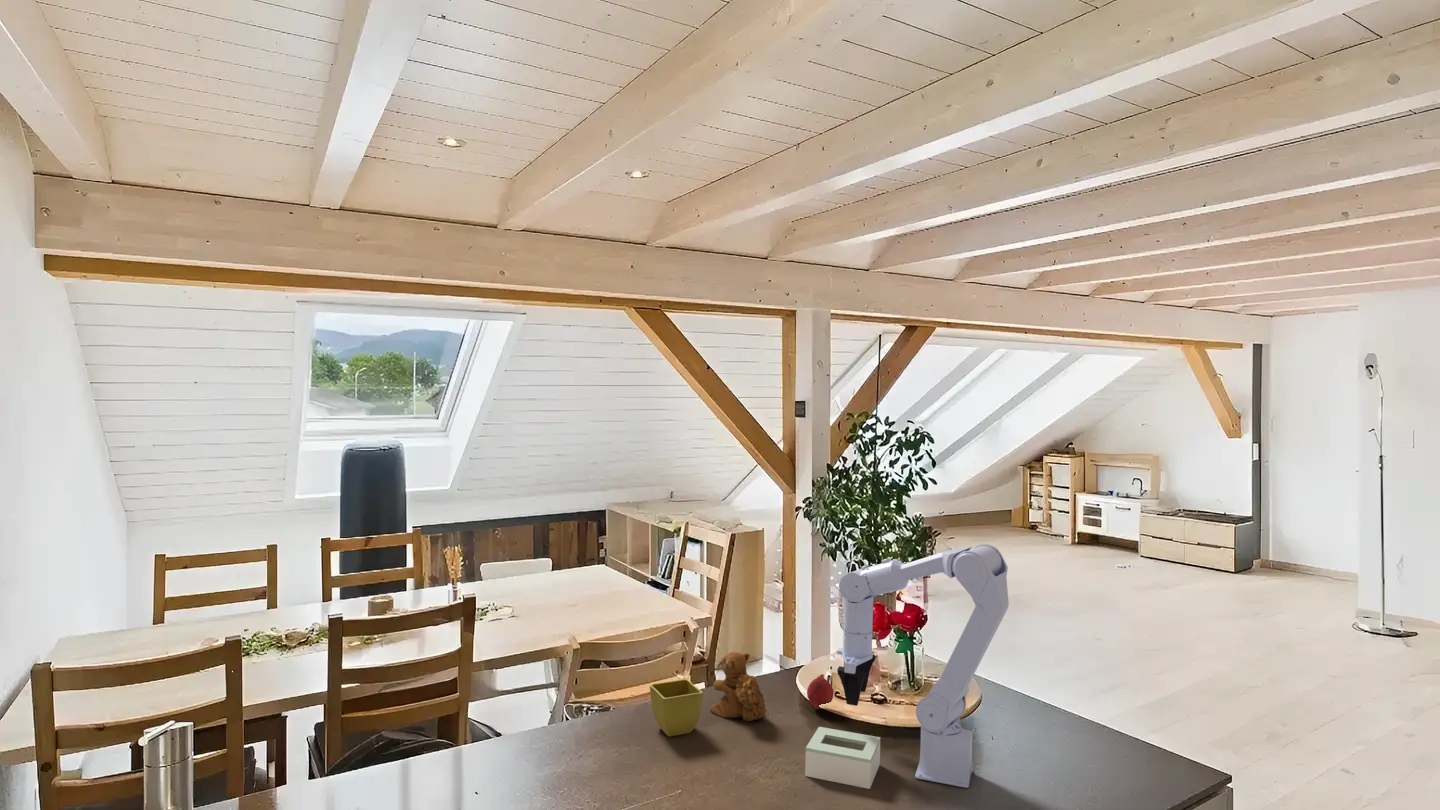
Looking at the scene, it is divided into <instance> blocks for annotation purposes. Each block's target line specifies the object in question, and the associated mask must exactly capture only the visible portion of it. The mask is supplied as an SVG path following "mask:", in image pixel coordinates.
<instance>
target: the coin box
mask: <svg viewBox="0 0 1440 810" xmlns="http://www.w3.org/2000/svg"><path fill="white" fill-rule="evenodd" d="M880 759H881V737H880V736H874V735H869V734H862V733H857V732H851V731H846V730H840V729H835V728H834V729H833V728H829V727H825V726H824V727H823V726H818V728H817V729H816V730H815V732H814V734H813V735H812V737H811V739H810V740H809V742H808V744H807V745H806V747H805V759H804V760H805V764H804V765H805V766H804V768H805V770H804V772H805V773H804V776H805V777H808V778H812V779H813V778H814V779H818V780H822V781H829V782H833V783H838V784H844V785H849V786H853V787H857V788H864V789H868V790H870V789H871V787H872V785H873V783H874V780H875V777H876V774H877V773H878V770H879V768H880V766H881V765H880V764H881V760H880Z"/></svg>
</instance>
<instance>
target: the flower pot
mask: <svg viewBox="0 0 1440 810" xmlns="http://www.w3.org/2000/svg"><path fill="white" fill-rule="evenodd" d="M649 692H650V693H649V694H650V702H651V709H652V713H653V716H654V718H655V720H656V721H655V722H656V723H657V725H658V726H659V728H660V729H661V730H662V732H663V733H665V735H666V736H667V737H675V736H680V735H685V734H690V733H692V732H693V730H694V729H695V728H696V725H697V723H698V722H699V719H700V715H701V707H702V701H703V692H704V691H702V690H701V689H700V688H698V686H696V685H695V684H693V682H691V681H690V680H689V679H687V678H683V679H675V680H670V681H663V682H655V683H651V684H649Z"/></svg>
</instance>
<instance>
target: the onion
mask: <svg viewBox="0 0 1440 810" xmlns="http://www.w3.org/2000/svg"><path fill="white" fill-rule="evenodd" d="M806 694H807V699H808V701H809V703H810V705H812V706H813V707H814V708H816V709H817V710H819V705H821V704H826V703H829V702H831V703H832V701H833V698H834V689H833V686H832V684H831V683H830V682H829V681H828V680H827V679H826V678H825V674H823V673H819V674H818V675H817V677H816V678H813V680H811V682H810V683H809V685H808V687H807V689H806Z"/></svg>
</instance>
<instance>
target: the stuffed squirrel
mask: <svg viewBox="0 0 1440 810" xmlns="http://www.w3.org/2000/svg"><path fill="white" fill-rule="evenodd" d="M750 657H751V654H750V653H748V652H745V653H741V652H738V651H731V652H728V653H727V654H725V655H724V656H723V657H722V658H721V661H720V662H719V663H718V665H717V667H716V668H715V670H716V671H717V672H719V670H720V669H719V668H721V669H722V672H723V673H724V675H725V676H724V677H725V678H724V679H716V680H714V682H713V689H714V690H715V691H718V692H723V693H724V695H723V696H722V698H720V699H719V700H718V703H715V704H712V705H711V706H710V707H709V709H710V710H709V711H710V712H711V713H712V714H714V715H717V716H719V717H722V718H730V719H736V718H737V719H738V718H742V719H743V720H744V721H747V722H752V721H754V720H755V721H757V720H760V719H762V718H763V717H764V715H765V713H766V712H768V710H767V709H766V704H765V703H766V702H765V699H764V698H765V697H764V695H763V693H762V692H761V689H760V685H759V684H758V679H757V678H756V677H755V676H754V675H749V674H748V673H747V667H746V666H747V662H748V660H749V658H750ZM720 666H721V667H720Z"/></svg>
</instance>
